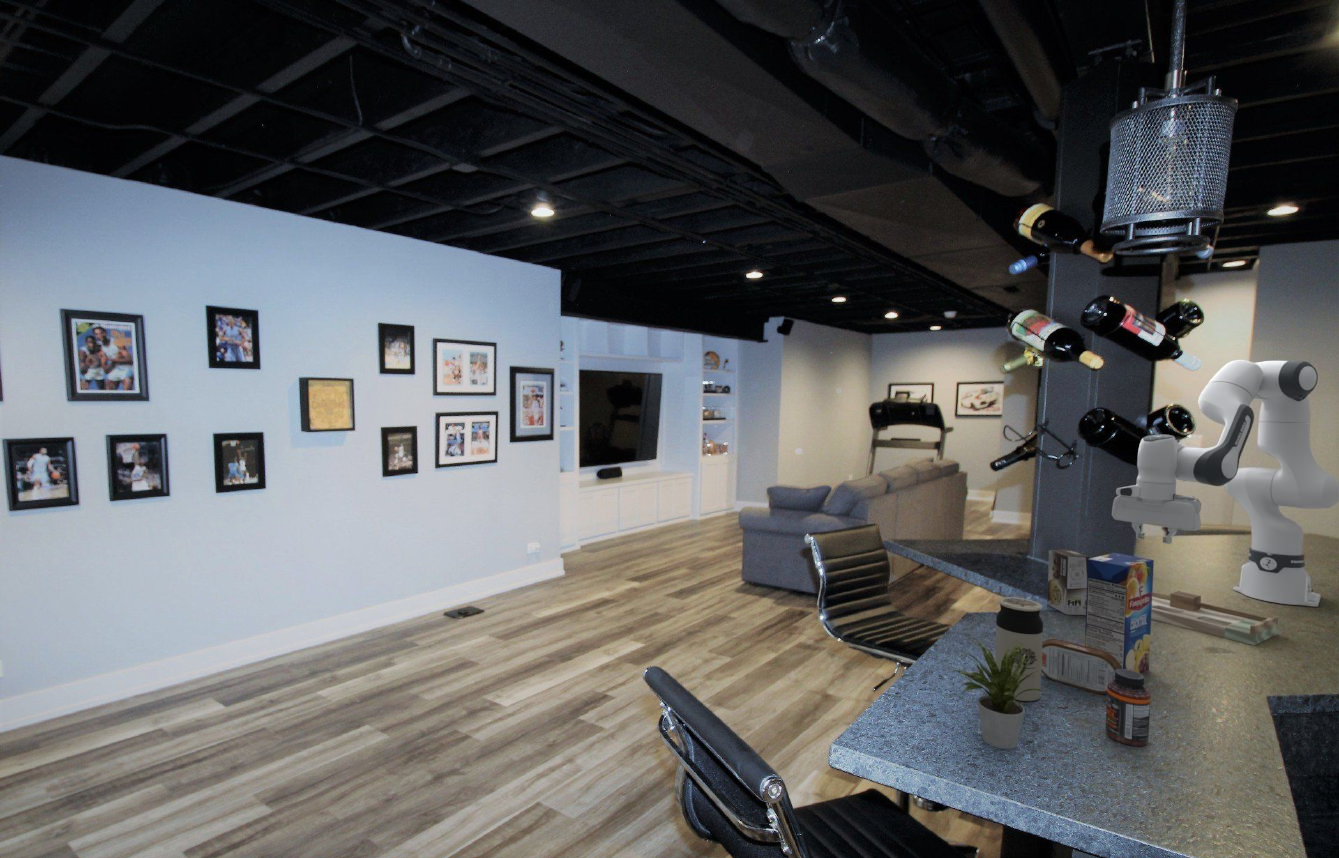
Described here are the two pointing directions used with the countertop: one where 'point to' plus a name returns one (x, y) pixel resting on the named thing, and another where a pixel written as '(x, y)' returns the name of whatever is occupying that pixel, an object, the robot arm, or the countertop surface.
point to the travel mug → (1021, 641)
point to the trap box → (1216, 620)
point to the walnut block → (1185, 601)
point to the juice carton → (1120, 608)
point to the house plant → (999, 698)
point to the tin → (1078, 665)
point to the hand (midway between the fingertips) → (1153, 540)
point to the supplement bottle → (1128, 708)
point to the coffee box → (1067, 581)
